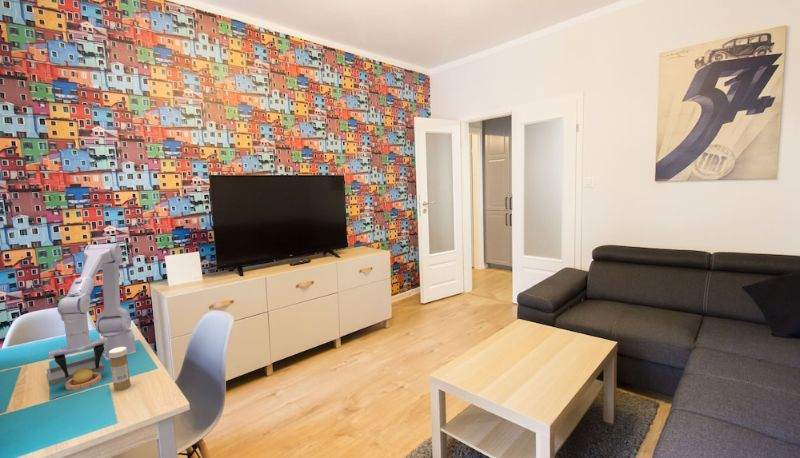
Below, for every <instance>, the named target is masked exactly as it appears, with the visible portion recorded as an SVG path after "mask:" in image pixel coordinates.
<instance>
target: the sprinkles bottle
mask: <svg viewBox="0 0 800 458" xmlns="http://www.w3.org/2000/svg"><path fill="white" fill-rule="evenodd" d="M109 357H110V360H109V361H110V370H111V376H112V377H111V378H112V383H113V391H114V392H116V393H117V392H123V391H125V390H128V389H130V388H131V386H132V384H131V380H130V379H131V378H130V377H131V376H130V368H129V361H128V355H127V348H126V347H118V348H114V349H112V350H110V351H109Z"/></svg>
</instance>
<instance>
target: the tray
mask: <svg viewBox="0 0 800 458" xmlns="http://www.w3.org/2000/svg"><path fill="white" fill-rule="evenodd" d="M66 366H67V371H68V375H69V377H67V378H66V377H65V373H64V372H63V370H62V368H61V367H60V366H59V365H55V366H52V367H50V368H46V373H47V378H48V385H49V387H51V386H54V385H58V384H61V383H66V382H67V381H68V380H70V379H72V378H73V375H74V373H75V372H76V371H77V370H78V369H80V368H84V367H87V368H90V369H91V370H92V372H97V373H100V372H103V371H105V370H104V365H103V363H102V361H101V359H100V363H99V368H98V369H96V367H95V355H94V356H91V357H86V358H83V359H79V360H75V361H72V362H71V361H70V362H68V363H67V362H66Z"/></svg>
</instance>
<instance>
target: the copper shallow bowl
mask: <svg viewBox="0 0 800 458" xmlns="http://www.w3.org/2000/svg"><path fill="white" fill-rule="evenodd" d="M102 378H103V377H102V373H101V372H93V376H92V378H91V379H90V380H89V381H88V382H86V383H82V384H79V383H76V382H75V381H74V380H73V378H72V379H70V380H68V381H65V382H64V384H65V389H66V390H68V391H77V390H83V389H85V388H88V387H91V386H94V385H95V384H97V383H99V382H100V381H101V380H102Z"/></svg>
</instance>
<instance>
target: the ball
mask: <svg viewBox="0 0 800 458" xmlns="http://www.w3.org/2000/svg"><path fill="white" fill-rule="evenodd" d="M92 376H93V372H92V370H91V369H90V368H87V367H84V368H80V369H78V370H77V371H76V372H75V373H74V375H73V380H74V381H75V382H76V383H79V384H82V383H86V382H88V381H89V380H90V379H91V378H92Z"/></svg>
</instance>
